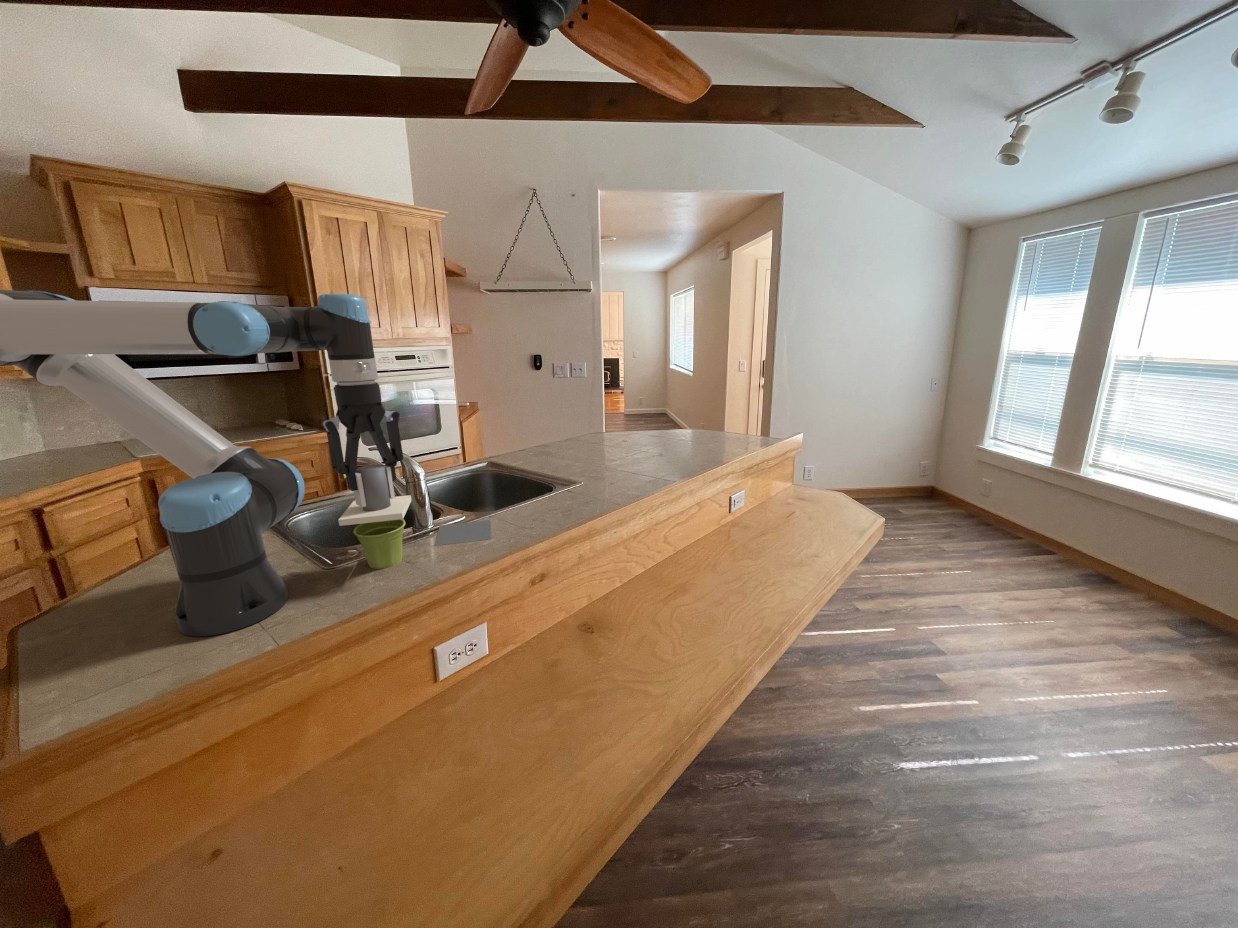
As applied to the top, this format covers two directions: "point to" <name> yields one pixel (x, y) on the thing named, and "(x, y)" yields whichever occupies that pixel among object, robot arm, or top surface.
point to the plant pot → (381, 542)
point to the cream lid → (375, 500)
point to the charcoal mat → (463, 532)
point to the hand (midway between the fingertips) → (375, 500)
